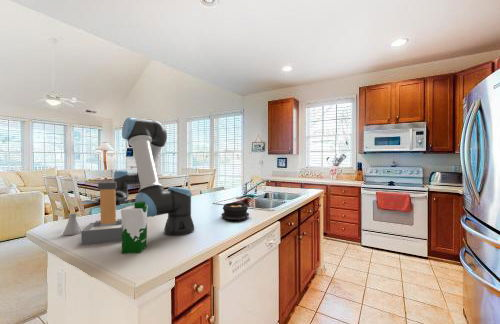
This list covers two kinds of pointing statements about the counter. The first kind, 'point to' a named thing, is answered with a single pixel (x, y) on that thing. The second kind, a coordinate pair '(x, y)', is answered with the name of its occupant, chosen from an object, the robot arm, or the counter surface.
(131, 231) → the milk carton
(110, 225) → the switch box
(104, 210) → the lever
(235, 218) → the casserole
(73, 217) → the flask
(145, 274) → the counter surface
